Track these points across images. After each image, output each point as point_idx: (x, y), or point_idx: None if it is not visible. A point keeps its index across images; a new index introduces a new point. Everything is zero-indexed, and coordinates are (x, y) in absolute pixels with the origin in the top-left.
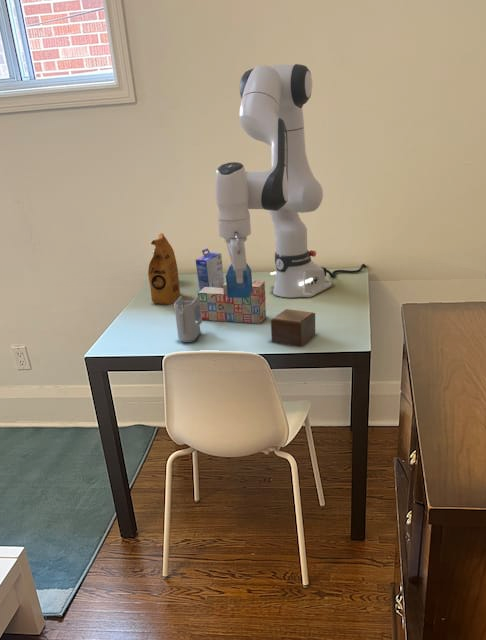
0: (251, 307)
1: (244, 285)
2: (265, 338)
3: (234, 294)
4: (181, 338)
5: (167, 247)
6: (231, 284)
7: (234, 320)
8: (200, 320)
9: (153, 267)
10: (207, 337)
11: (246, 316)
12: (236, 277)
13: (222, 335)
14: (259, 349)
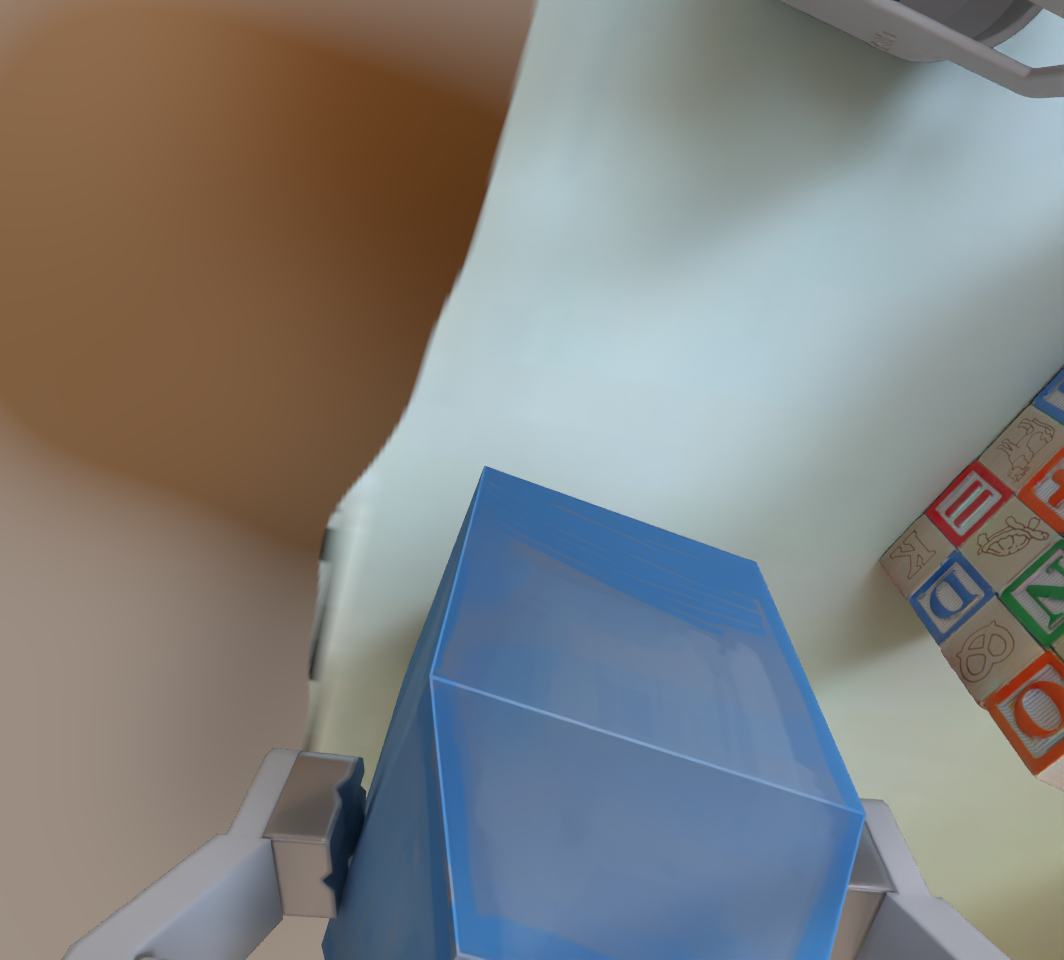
0: (983, 584)
1: (375, 775)
2: None
3: (447, 572)
4: None
5: None
6: (430, 641)
7: (1035, 407)
8: (995, 71)
9: None
10: (806, 126)
11: (978, 507)
12: (233, 827)
13: (790, 266)
14: (424, 474)
